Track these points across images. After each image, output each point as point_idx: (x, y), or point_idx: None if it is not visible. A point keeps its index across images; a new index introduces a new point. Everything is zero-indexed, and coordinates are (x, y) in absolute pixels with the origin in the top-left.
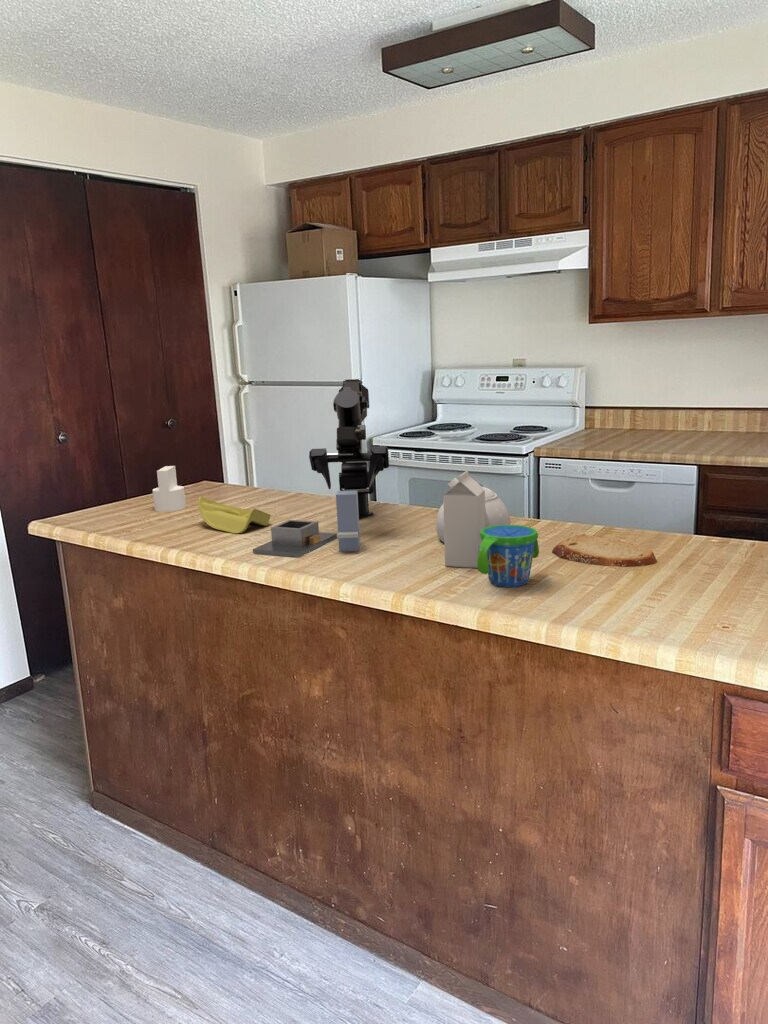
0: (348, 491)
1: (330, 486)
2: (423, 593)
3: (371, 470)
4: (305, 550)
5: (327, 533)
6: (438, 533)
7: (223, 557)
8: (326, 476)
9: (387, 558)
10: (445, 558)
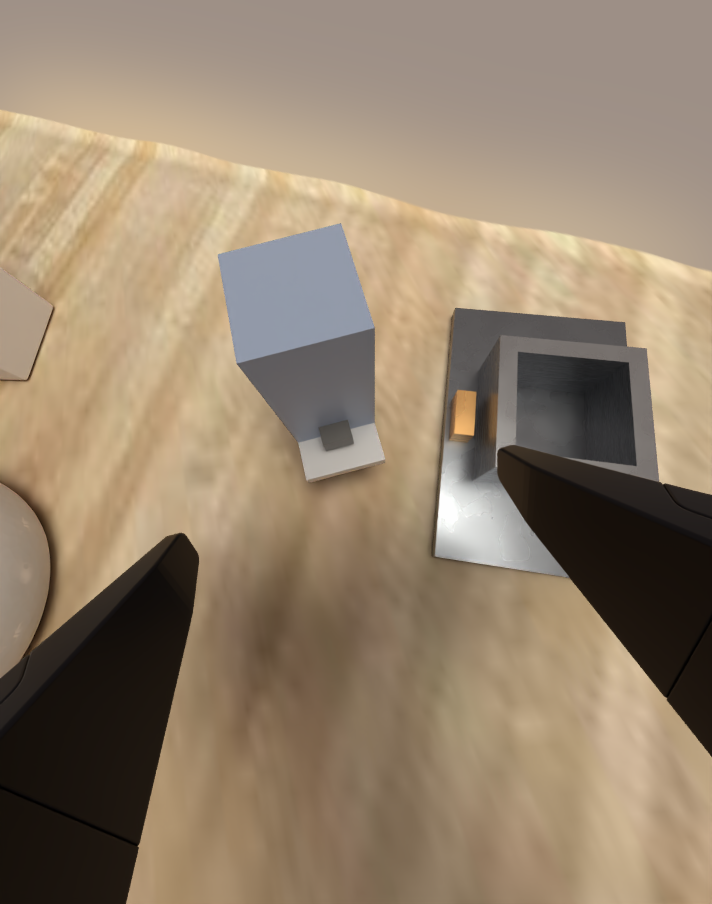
0: (290, 322)
1: (509, 483)
2: (103, 161)
3: (25, 679)
4: (451, 344)
5: (473, 555)
6: (29, 533)
7: (677, 286)
8: (609, 475)
9: (203, 348)
10: (32, 291)
